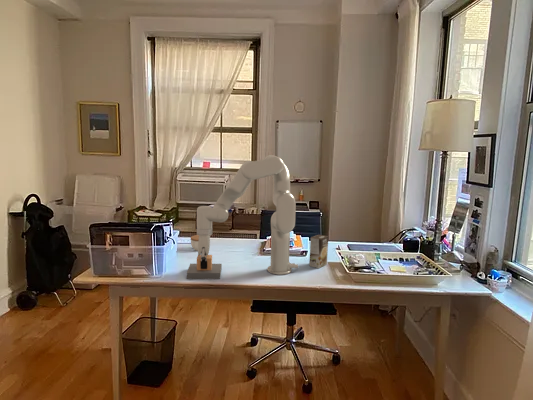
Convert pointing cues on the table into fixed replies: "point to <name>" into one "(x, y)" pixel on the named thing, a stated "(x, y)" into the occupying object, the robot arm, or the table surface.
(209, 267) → the plug
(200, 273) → the socket
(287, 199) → the robot arm
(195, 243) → the lidded jar
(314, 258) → the coffee box
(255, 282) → the table surface
